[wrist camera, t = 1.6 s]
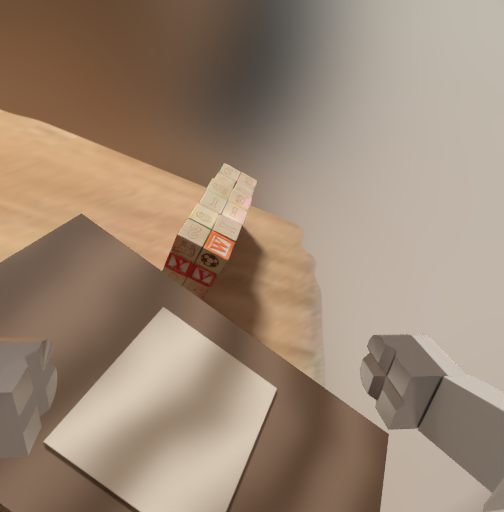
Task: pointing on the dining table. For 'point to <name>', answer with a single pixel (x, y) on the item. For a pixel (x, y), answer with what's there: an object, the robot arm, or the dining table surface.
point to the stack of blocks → (210, 231)
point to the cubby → (168, 398)
